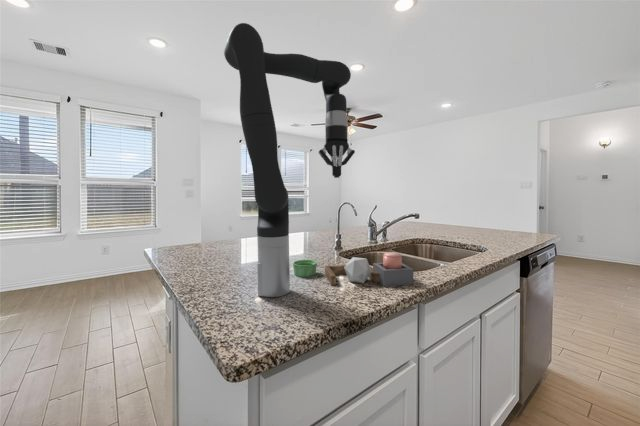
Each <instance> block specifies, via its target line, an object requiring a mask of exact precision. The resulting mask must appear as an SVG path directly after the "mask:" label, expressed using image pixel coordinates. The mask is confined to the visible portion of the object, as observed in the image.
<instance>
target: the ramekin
mask: <svg viewBox="0 0 640 426" xmlns="http://www.w3.org/2000/svg"><path fill="white" fill-rule="evenodd" d="M317 265H318V262H317V261H315V260H312V259H300V260H295V261H293V262H292V266H293V274H294V276H296V277H300V278H308V277H312V276H313V277H314V276H315V275H316V274H317Z"/></svg>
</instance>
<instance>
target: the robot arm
mask: <svg viewBox="0 0 640 426" xmlns="http://www.w3.org/2000/svg"><path fill="white" fill-rule="evenodd" d="M223 54H224V55H223V56H224V58H225V61H226V62H227V63H228V65H229V66H230V67H231V68H233V69H235V70H236V71H238V72H239V79H240V83H239V84H240V89H239V115H240V123H241V128H242V133H243V137H244V141H245V146H246V149H247V152H248V156H249V159H250V163H251V168H252V177H253V190H254V199H255V203H256V205H257V216H258V217H257V227H256V232H257V233H256V235H257V237H256V238H257V239H256V240H257V264H256V265H257V267H256V268H257V296H258V297H265V298H279V297H282V296H285V295H288V294H289V293H290V291H291V280H290V279H291V278H290V277H291V276H290V272H291V271H290V235H289V234H290V230H289V229H290V225H289V224H290V218H289V217H290V216H289V214H290V211H289V210H290V209H289V208H290V207H289V193H288V190H287V188H286V186H285V183H284V181H283V176H282V173H281V169H280V165H279V156H278V136H277V135H278V134H277V128H276V123H275V122H276V121H275V118H274V112H273V107H272V106H273V105H272V102H271V97H270V91H269V87H268V81H267V75H276V76H282V77H289V78H293V79H297V80H301V81H304V82H307V83H313V84H319V83H320V82H321V86H322V91H323V96H324V98H325V120H324V121H325V123H324V126H325V143H324V145H323V148H321V149H319V150H318V154H319V155H320V157H321V158H322V159H323V161H324V162H325V164H326V165H328V166H331V169H332V170H331V171H332V172H331V173H332V175H331V176H332V177H333V178H335V179H336V178H337V179H339V178H340V177H341V175H342V166H345V165H347V163H348V162H349V161H350V159H351V158H352V157H353V155H354V154H355V153H356V151H355V150H354V149H352V148H351V147H350V144H349V143H348V116H347V115H348V114H347V109H348V108H347V97H346V96H345V95H344V94H342V93H340V88H342V87H344V86H346V85H347V84H348V83H349V82H350V80H351V76H352V75H351V74H352V73H351V70H350V68H349V67H348V66H347V65H346V63H344V62H341V61H337V60H327V59H325V60H324V59H317V58H314V57H311V56H309V55H308V56H307V55H305V54H301V53H271V52H267V51H265V49H264V43H263V40H262V36H261V35H260V33H259V32H258V31H257V28H255V27H253V25H251V24H249V23H246V22H242V23H238V24H236V25H235V26H234V27H233V28H232V29H231V31H230V32H229V35H228V37H227V40H226V42H225V45H224V49H223ZM266 74H267V75H266ZM327 154H328V155H329V156H330V158H329V157H328V155H327ZM345 154H346V156H345V158H344V159H343V156H344V155H345Z"/></svg>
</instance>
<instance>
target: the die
mask: <svg viewBox="0 0 640 426" xmlns="http://www.w3.org/2000/svg"><path fill="white" fill-rule="evenodd" d="M345 265H346V266H345V267H344V269H345V272H346V274H345V275H346V276H347V279H348V281H349V282H351V283H357V284H358V283H359V284H364V283H365V282H366V281H367V280H368V278H369V276H370V275H371V273H372V271H371V268H372V267H371V266H370V263H369V261H368V259H367V258H365V257H364V258H363V257H358V256H357V257H355V256H353V257H351V258H350V260H349V261H348V262H347V263H346V264H345ZM370 267H371V268H370Z"/></svg>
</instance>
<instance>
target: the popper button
mask: <svg viewBox="0 0 640 426" xmlns="http://www.w3.org/2000/svg"><path fill="white" fill-rule="evenodd" d="M402 259H403V258H402V255H401V253H398V252H394V251H393V252H384V254H383V255H382V263H383V267H384V268H385V269H401V268H402V263H403V262H402Z"/></svg>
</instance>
